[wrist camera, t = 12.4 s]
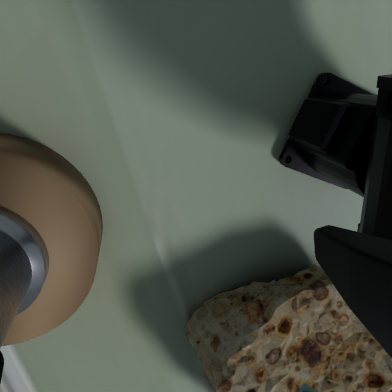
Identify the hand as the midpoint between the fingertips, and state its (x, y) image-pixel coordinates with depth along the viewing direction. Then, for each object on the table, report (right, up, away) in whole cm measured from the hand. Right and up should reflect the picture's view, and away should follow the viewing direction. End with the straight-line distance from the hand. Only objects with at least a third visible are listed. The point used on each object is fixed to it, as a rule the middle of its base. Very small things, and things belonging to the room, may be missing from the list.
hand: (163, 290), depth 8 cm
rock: (+9, -12, +21) cm, 26 cm away
